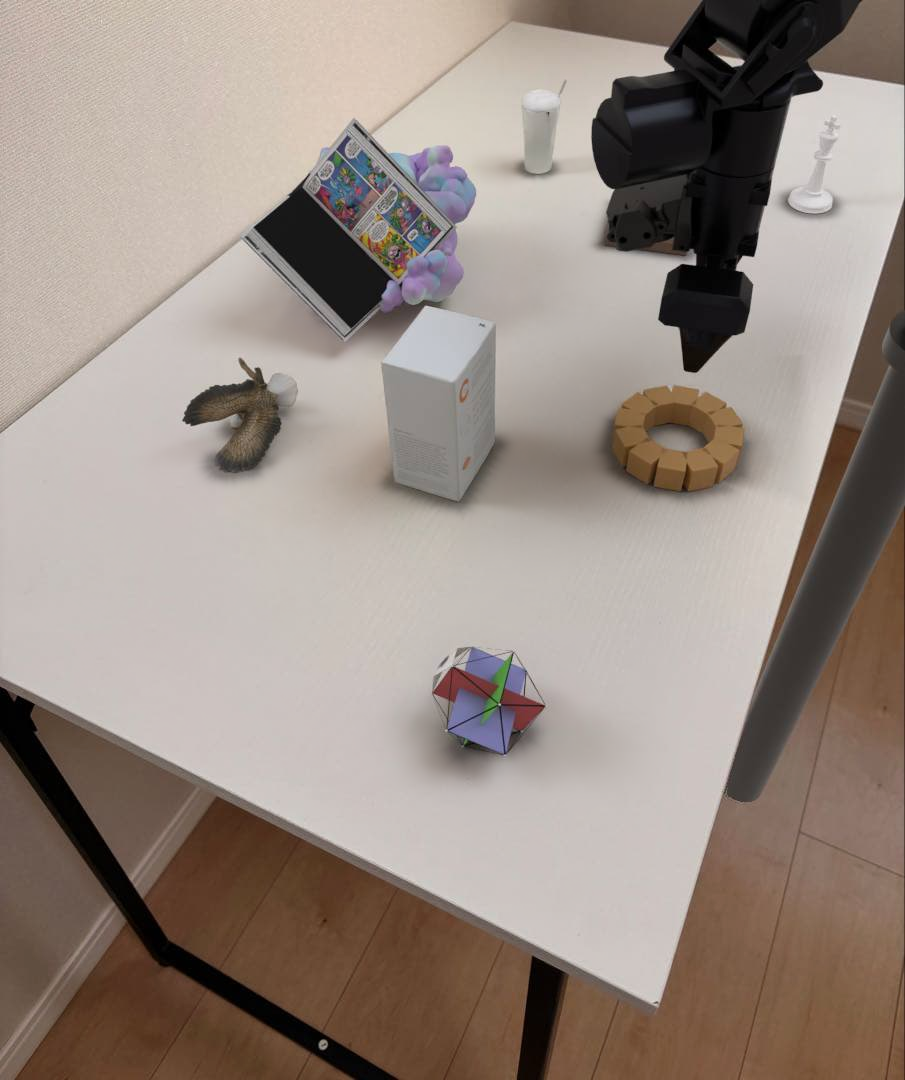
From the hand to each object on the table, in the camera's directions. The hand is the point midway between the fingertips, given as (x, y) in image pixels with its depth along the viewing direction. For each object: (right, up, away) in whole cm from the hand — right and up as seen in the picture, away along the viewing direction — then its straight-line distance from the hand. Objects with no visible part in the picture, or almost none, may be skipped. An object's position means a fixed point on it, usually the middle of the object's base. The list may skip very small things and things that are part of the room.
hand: (696, 337), depth 79 cm
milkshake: (-10, +29, +37) cm, 48 cm away
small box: (-21, -10, +3) cm, 24 cm away
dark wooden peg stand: (+2, +18, +27) cm, 32 cm away
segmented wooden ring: (-1, -9, +4) cm, 10 cm away
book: (-28, +10, +21) cm, 36 cm away
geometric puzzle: (-18, -30, -14) cm, 38 cm away
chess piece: (+21, +22, +30) cm, 43 cm away
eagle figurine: (-39, -8, +6) cm, 40 cm away
